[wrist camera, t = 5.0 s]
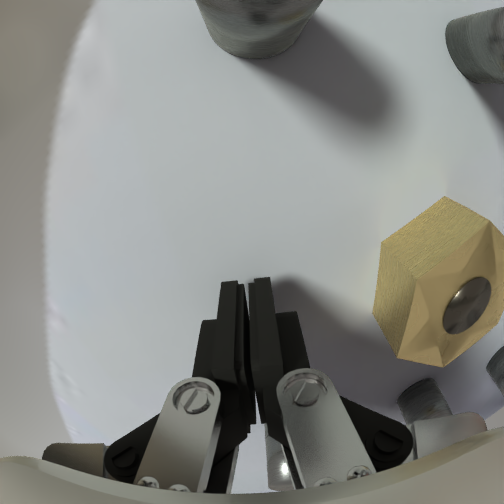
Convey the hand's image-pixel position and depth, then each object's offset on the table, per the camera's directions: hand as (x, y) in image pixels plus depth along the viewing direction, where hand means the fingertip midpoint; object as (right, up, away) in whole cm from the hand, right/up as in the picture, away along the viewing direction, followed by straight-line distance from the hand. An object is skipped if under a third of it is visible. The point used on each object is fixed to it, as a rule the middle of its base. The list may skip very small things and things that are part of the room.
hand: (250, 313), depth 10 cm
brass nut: (+8, +1, +1) cm, 8 cm away
